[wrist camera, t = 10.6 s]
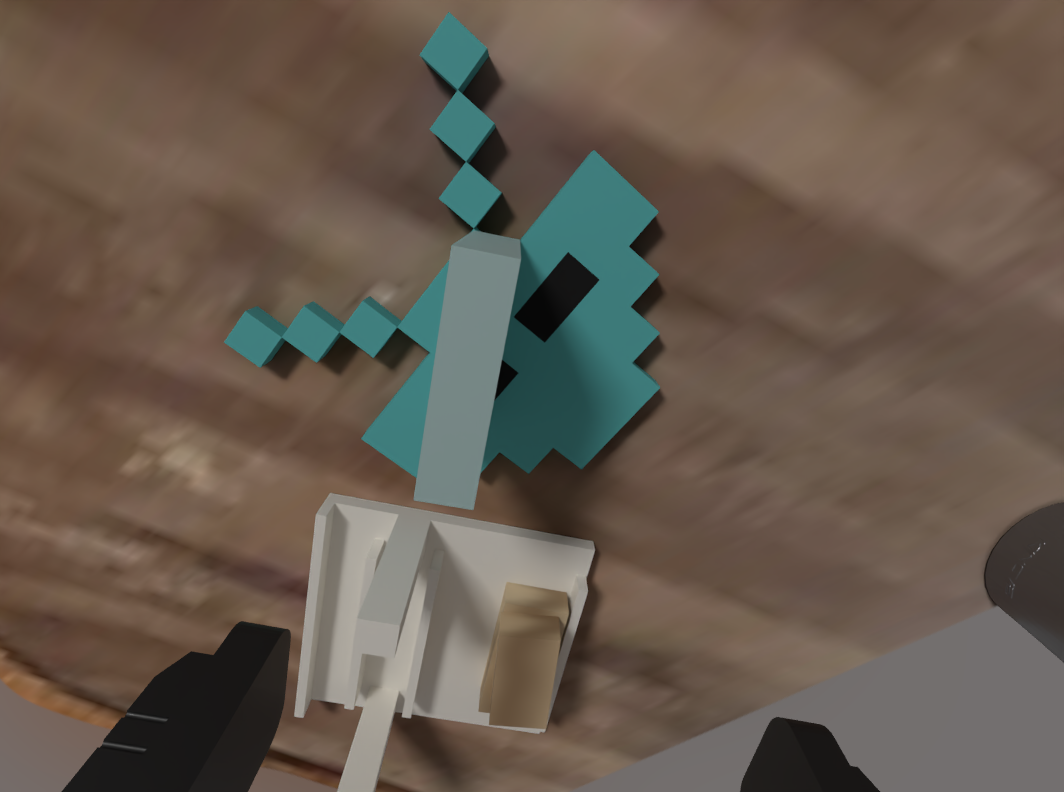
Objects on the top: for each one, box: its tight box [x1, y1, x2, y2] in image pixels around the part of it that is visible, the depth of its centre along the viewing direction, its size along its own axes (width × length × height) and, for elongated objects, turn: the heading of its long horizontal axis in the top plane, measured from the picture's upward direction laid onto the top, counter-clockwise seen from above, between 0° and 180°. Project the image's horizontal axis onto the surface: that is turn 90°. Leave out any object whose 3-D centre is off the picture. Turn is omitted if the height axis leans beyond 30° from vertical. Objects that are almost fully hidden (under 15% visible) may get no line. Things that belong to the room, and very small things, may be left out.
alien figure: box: [224, 12, 660, 478], centre depth 31 cm, size 20×2×20 cm
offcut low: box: [478, 582, 569, 713], centre depth 37 cm, size 4×9×2 cm, turn 168°
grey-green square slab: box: [414, 230, 521, 510], centre depth 25 cm, size 2×10×10 cm, turn 169°
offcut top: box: [489, 612, 561, 729], centre depth 35 cm, size 4×7×2 cm, turn 173°
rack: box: [294, 493, 595, 792], centre depth 33 cm, size 17×16×10 cm
